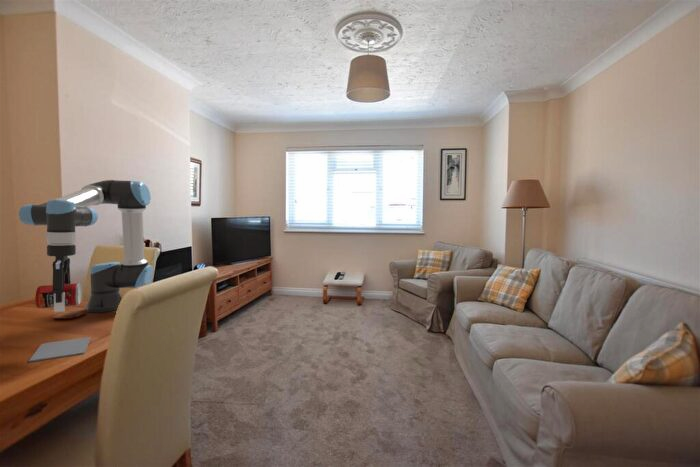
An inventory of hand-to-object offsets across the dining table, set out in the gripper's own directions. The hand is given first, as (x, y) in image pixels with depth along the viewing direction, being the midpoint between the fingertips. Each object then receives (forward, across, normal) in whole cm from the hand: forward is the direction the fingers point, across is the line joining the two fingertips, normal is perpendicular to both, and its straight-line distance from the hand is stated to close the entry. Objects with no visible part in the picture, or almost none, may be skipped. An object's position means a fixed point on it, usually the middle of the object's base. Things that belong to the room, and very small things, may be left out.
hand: (62, 308), depth 114 cm
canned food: (-5, 0, -6) cm, 8 cm away
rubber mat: (+15, 0, 0) cm, 15 cm away
